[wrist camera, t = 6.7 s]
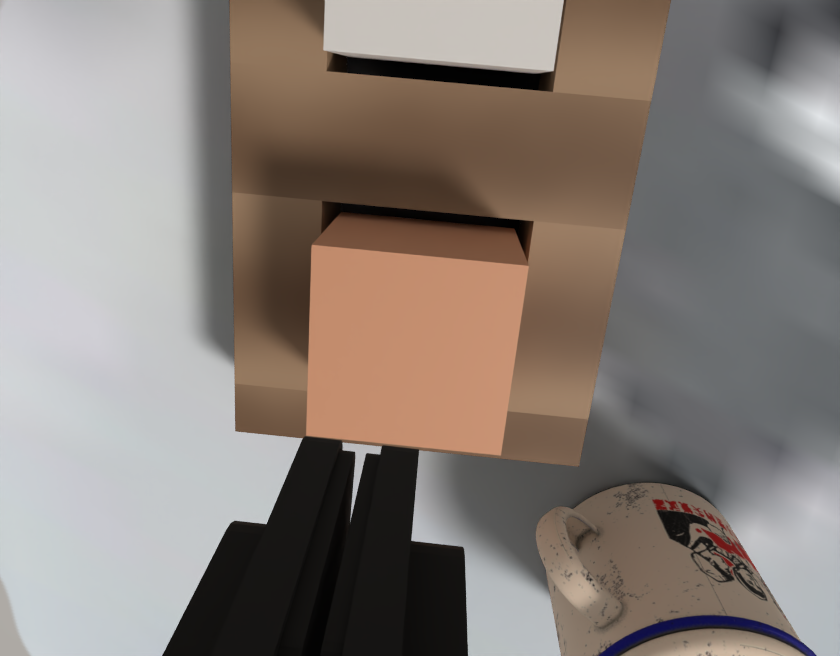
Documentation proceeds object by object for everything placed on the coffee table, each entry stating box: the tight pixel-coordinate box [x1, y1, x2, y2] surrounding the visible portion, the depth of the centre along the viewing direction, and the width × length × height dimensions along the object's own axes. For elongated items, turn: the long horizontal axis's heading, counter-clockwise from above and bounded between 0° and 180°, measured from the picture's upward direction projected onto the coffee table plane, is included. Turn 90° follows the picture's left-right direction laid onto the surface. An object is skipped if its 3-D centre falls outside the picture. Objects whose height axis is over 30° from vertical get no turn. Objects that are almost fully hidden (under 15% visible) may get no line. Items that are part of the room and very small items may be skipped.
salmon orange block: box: [306, 212, 529, 456], centre depth 22 cm, size 6×6×5 cm
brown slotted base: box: [229, 0, 671, 467], centre depth 23 cm, size 22×13×4 cm, turn 175°
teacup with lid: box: [536, 483, 816, 656], centre depth 25 cm, size 12×9×12 cm
